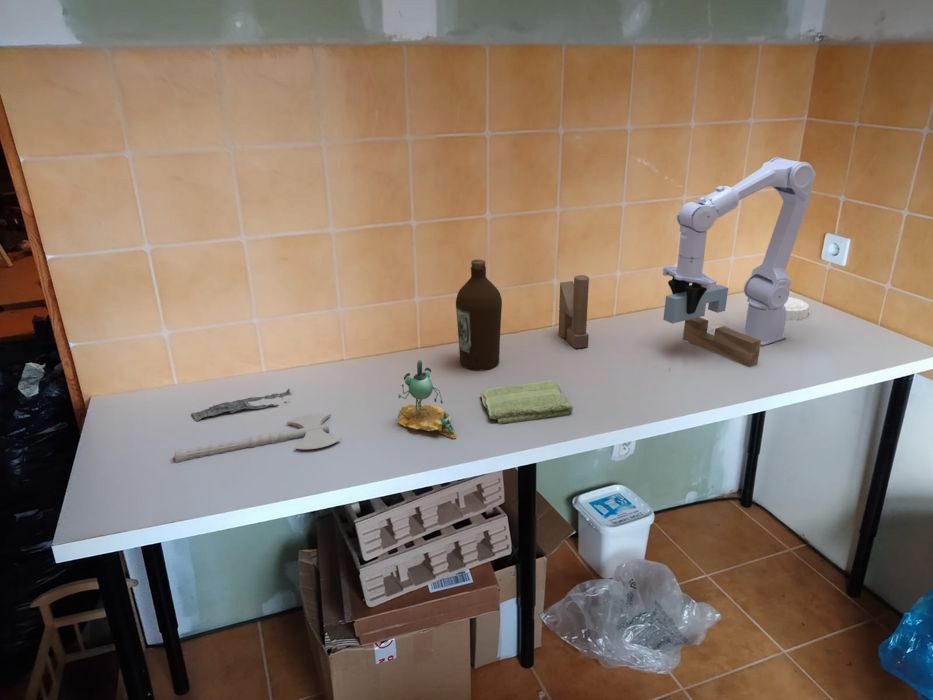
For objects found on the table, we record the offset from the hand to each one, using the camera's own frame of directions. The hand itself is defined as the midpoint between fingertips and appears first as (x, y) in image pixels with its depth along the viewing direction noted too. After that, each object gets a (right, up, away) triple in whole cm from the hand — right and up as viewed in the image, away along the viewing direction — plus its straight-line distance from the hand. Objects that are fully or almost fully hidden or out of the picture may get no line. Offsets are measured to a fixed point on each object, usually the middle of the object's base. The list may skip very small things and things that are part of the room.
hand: (685, 310), depth 168 cm
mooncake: (+36, 0, +27) cm, 45 cm away
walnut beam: (+9, -10, +3) cm, 14 cm away
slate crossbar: (+3, -1, +2) cm, 4 cm away
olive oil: (-49, -13, 0) cm, 51 cm away
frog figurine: (-61, -24, -27) cm, 71 cm away
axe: (-92, -28, -33) cm, 102 cm away
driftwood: (-100, -22, -18) cm, 104 cm away
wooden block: (-25, -7, +11) cm, 29 cm away
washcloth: (-40, -22, -21) cm, 50 cm away
